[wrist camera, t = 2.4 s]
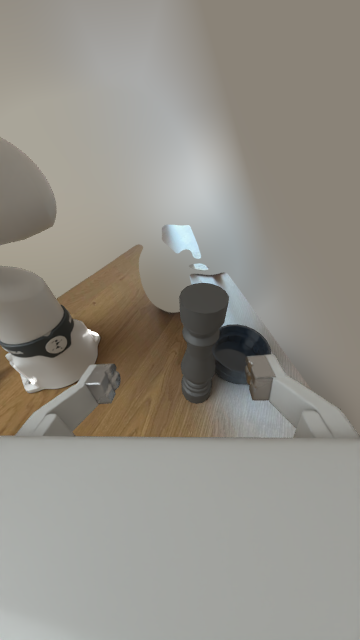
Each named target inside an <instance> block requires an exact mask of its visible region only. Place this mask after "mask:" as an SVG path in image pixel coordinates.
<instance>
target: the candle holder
mask: <svg viewBox="0 0 360 640" xmlns="http://www.w3.org/2000/svg"><path fill="white" fill-rule="evenodd" d="M179 298H180V317H181V322H182V323H183V325H184V328H183V331H182V332H183V337H184V339H185V341H186V342H187V349H186V352H185V354H184V357H183V359H182V363H181V370H182V374H183V378H182V392H183V395H184V396H185V398H186V399H187V400H188V401H190V402H192V403H196V404H197V403H202V402H204V401H205V400H207V399H208V397H209V395H210V392H211V387H212V380H211V379H212V377H213V375H214V373H215V361H214V357H213V352H212V346H213V345H214V344H215V343H216V342H217V340H218V339H219V334H220V331H219V328H220V327H221V326H222V325H223V323H224V321H225V316H226V311H227V307H228V300H229V296H228V295H227V293H226V291H225V290H223V289H222V288H221V287H219V286H216V285H213V284H208V283H198V284H193V285H190V286H187V287H186V288H185V289H184V290H183V291H182V292H181V294H180V297H179Z"/></svg>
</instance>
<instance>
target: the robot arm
mask: <svg viewBox="0 0 360 640" xmlns="http://www.w3.org/2000/svg"><path fill="white" fill-rule="evenodd" d="M55 218H56V201H55V198H54V194H53V191H52V189H51V187H50V185H49V183H48V181H47V179H46V178H45V176H44V175H43V173H42V172H41V170H40V169H39V168H38V167H37V165H36V164H35V163H34V162H33V161H32V160H31V159H30V158H29V157H28V156H27V155H26V154H24V153H23V152H22V151H21V150H19V149H18V148H17V147H15V146H14V145H13V144H11V143H10V142H7V141H6V140H4V139H3V138H1V137H0V245H2V244H7V243H11V242H15V241H20V240H24V239H26V238H29V237H31V236H33V235H35V234H38V233H40V232H42V231H44V230H46V229H48V228H50V227H52V226H53V224H54V222H55ZM99 342H100V336H99V335H98V334H97V333H95V332H93V331H90V330H88V329H87V327H86V326H85V325H84V323H83V322H82V321H78V320H76V319H72V317H71V315H70V313H69V312H68V311H67V310H66V309H65V307H64V306H62V305H60V304H59V302H58V301H57V299H56V298H55V296H54V295H53V293H52V292H51V290H50V289H49V287H48V286H47V284H46V283H45V281H44V280H43V279H42V278H41V277H39V276H38V275H36V274H35V273H33V272H31V271H28V270H25V269H22V268H17V267H8V266H0V345H1V346H2V347H3V348H4V349H5V350H6V351H8V352H10V353H8V354H6V358H7V359H8V360H9V361H10V364H11V366H13V367H14V368H15V369H16V370H17V371H18V372H19V373H20V375H21V378H22V381H23V384H24V388H25V390H26V391H27V392H28V393H34V392H37V391H40V390H43V389H58V388H63V387H66V386H69V385H71V384H73V383H75V382H76V381H78V380H79V379H80V380H79V381H78V383H77V384H76V385H73V386H72V387H70V388H69V389H67V390H66V391H64V392H63V393H61V394H60V395H59V396H57V397H56V398H54V399H53V400H51V401H50V402H48V403H47V404H46V405H44V406H43V407H41V408H40V409H38V410H37V411H36V412H34V413H33V414H32V415H31V416H30V418H29V419H28V420H27V421H26V423H25V424H24V425H23V426H22V427H21V429H20V430H19V431H18V432H17V434H16V435H15V436H0V640H360V435H359V434H358V433H357V431H356V430H355V429H354V427H353V426H352V425H351V423H350V422H349V421H348V419H347V418H346V416H345V415H344V414H343V412H342V411H341V409H339V408H338V407H336V406H335V405H333V404H332V403H330V402H328V401H327V400H325V399H324V398H322V397H321V396H319V395H318V394H316V393H315V392H313V391H312V390H310V389H309V388H307V387H305V386H304V385H302V384H301V383H299V382H298V381H296V380H295V379H293V378H292V377H287V375H286V373H285V371H284V370H283V368H282V366H281V364H280V363H279V361H278V359H277V357H276V356H275V355H274V354H270V355H256V356H246V360H245V361H246V366H245V376H246V380H247V383H248V384H249V385H250V388H249V390H250V393H251V397H252V400H269V402H270V403H271V404H272V405H273V406H274V407H275V408H276V409H277V410H278V411H279V412H280V413H281V414H282V415H283V416H284V417H285V418H286V419H287V420H288V421H289V422H290V423H291V424H292V425H293V426H294V427H295V428H296V431H295V434H294V437H293V438H234V437H92V436H75V435H74V434H73V432H72V431H73V430H74V429H75V428H76V427H77V426H78V425H79V424H80V423H81V422H82V421H83V420H84V419H85V418H86V417H87V416H88V415H89V414H90V413H91V412H92V411H93V410H94V409H95V408H96V407H97V406H98V404H108V403H112V401H113V398H114V396H115V394H116V393H115V390H116V389H117V388H118V387H119V385H120V374H119V373H118V372H117V371H116V366H115V364H95V362H96V359H97V356H98V344H99Z"/></svg>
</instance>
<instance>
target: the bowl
mask: <svg viewBox="0 0 360 640" xmlns="http://www.w3.org/2000/svg"><path fill="white" fill-rule="evenodd" d="M219 331H220V334H219V339H218V340H217V342H216V343H215V344H214V345H213V346H212V352H213V357H214V361H215V373H216V374H217V375H218V376H220V377H221V378H223V379H225V380H226V381H228V382H232V383H236V384H248V383H247V380H246V376H245V366H246V361H245V360H246V356H256V355H270V354H271V349H270V346H269V344H268V342H267V341H266V339H265V338H264V337H263V336H262V335H261V334H260V333H258V332H257V331H255V330H254V329H251V328H249V327H247V326H242V325H226V326H223V327H220V328H219Z"/></svg>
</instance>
